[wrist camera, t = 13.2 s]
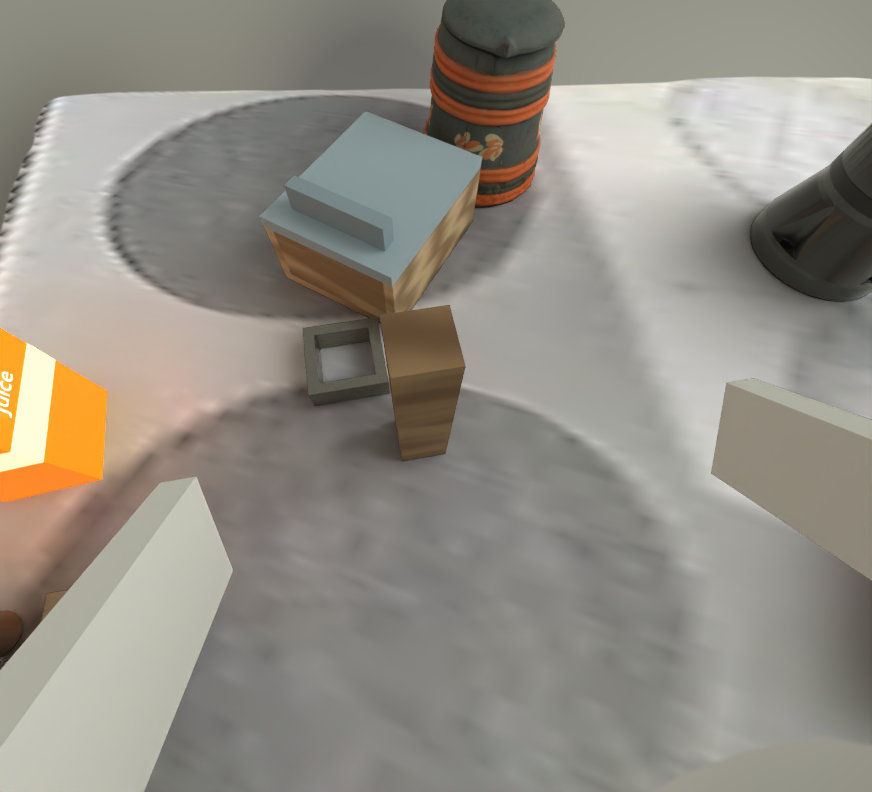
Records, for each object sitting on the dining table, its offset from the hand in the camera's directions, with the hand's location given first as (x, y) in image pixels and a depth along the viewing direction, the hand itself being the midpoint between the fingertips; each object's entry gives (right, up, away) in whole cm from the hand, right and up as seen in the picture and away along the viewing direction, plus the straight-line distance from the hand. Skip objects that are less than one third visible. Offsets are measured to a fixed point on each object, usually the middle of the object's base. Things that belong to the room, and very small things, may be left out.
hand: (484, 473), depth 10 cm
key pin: (-3, -2, +27) cm, 28 cm away
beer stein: (+4, +34, +44) cm, 55 cm away
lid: (-7, +22, +30) cm, 38 cm away
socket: (-10, +5, +30) cm, 32 cm away
